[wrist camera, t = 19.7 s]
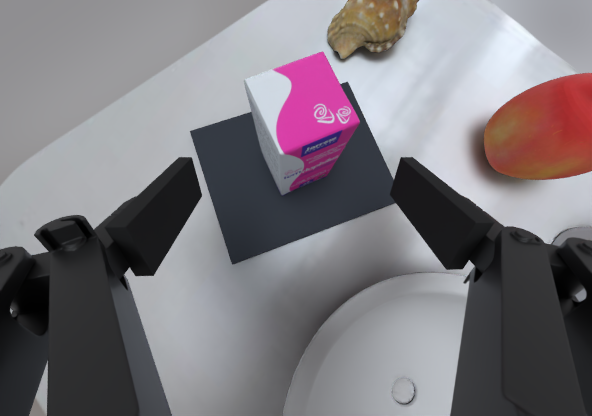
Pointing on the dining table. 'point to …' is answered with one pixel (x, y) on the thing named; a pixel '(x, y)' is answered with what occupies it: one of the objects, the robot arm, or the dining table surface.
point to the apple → (544, 131)
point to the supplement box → (300, 120)
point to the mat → (296, 204)
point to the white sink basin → (385, 350)
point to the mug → (579, 232)
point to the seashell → (369, 25)
